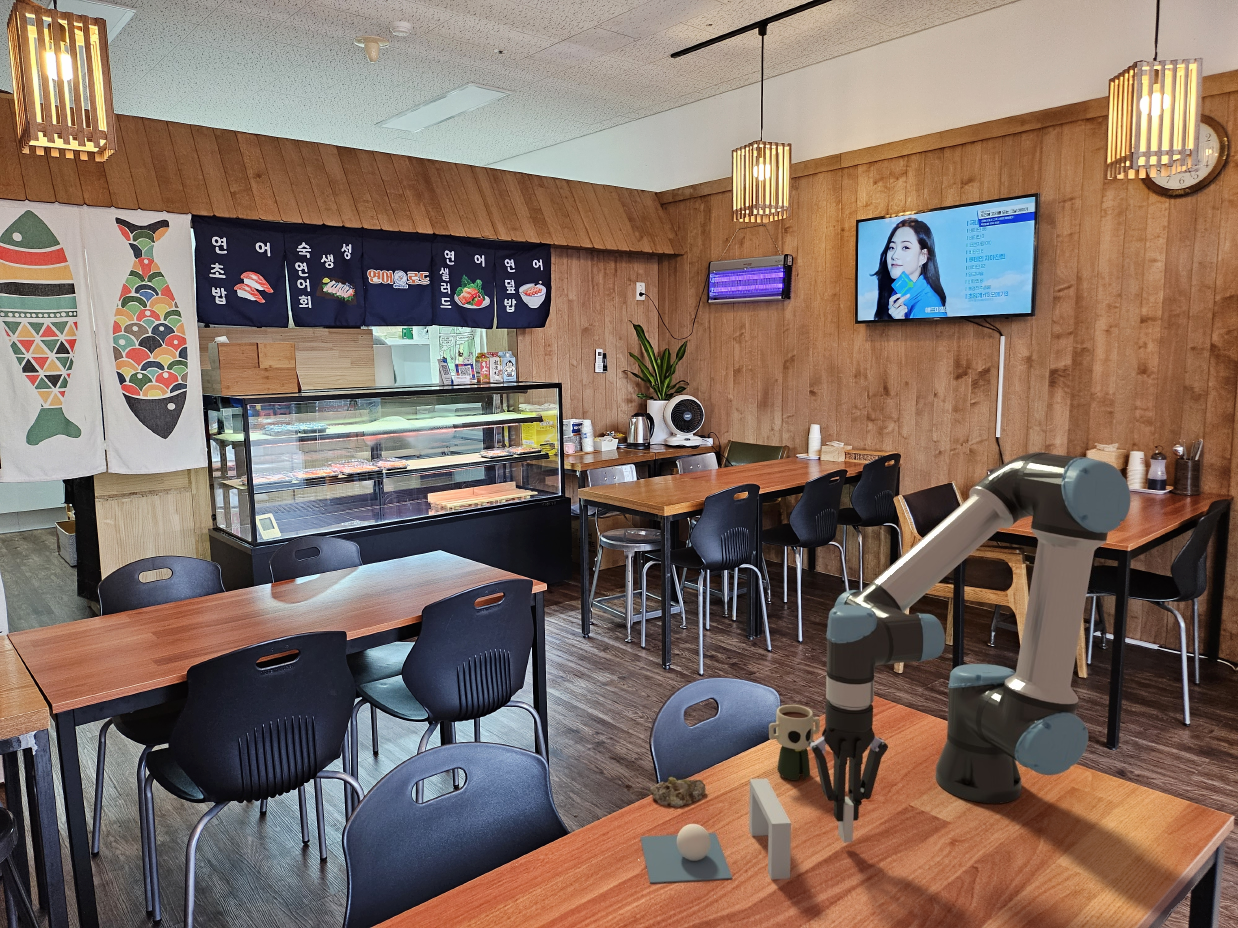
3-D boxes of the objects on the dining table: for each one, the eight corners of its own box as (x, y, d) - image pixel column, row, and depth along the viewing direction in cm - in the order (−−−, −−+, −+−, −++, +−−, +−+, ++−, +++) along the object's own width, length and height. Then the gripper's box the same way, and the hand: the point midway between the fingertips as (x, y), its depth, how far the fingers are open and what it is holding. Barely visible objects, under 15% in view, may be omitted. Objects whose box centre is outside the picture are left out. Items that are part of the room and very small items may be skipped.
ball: (667, 834, 141) (690, 855, 142) (672, 852, 136) (696, 874, 136) (690, 810, 141) (713, 831, 142) (697, 828, 136) (720, 849, 136)
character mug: (776, 787, 162) (778, 722, 161) (760, 770, 169) (761, 707, 168) (827, 779, 165) (829, 715, 164) (809, 763, 172) (810, 701, 171)
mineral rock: (660, 801, 153) (646, 770, 160) (657, 820, 155) (644, 789, 162) (715, 794, 156) (699, 764, 163) (712, 813, 158) (696, 782, 165)
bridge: (765, 828, 148) (766, 778, 147) (789, 878, 133) (791, 822, 132) (748, 829, 147) (749, 778, 146) (771, 879, 133) (772, 823, 132)
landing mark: (715, 833, 146) (715, 832, 146) (732, 878, 133) (732, 877, 133) (640, 837, 145) (640, 836, 145) (649, 883, 132) (649, 881, 132)
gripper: (879, 691, 143) (874, 823, 146) (803, 693, 142) (800, 827, 145) (897, 708, 136) (892, 848, 138) (817, 711, 134) (814, 852, 137)
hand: (845, 837), depth 141 cm, fingers closed
